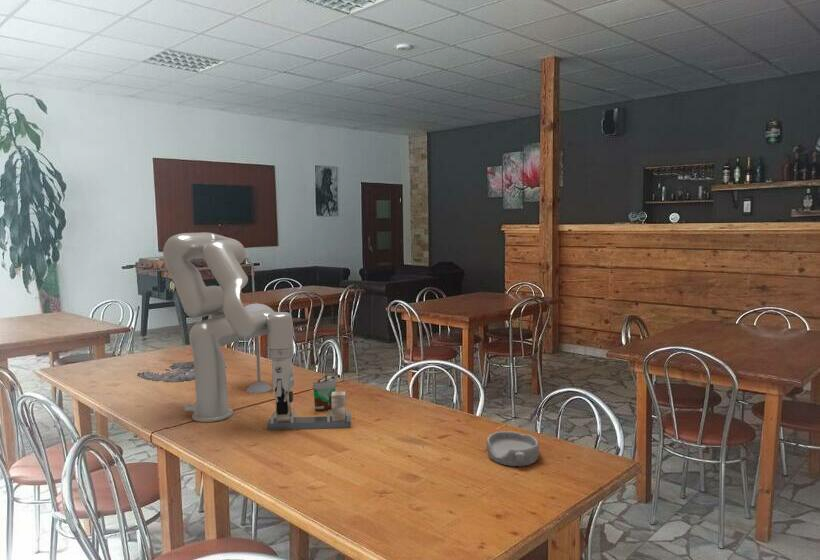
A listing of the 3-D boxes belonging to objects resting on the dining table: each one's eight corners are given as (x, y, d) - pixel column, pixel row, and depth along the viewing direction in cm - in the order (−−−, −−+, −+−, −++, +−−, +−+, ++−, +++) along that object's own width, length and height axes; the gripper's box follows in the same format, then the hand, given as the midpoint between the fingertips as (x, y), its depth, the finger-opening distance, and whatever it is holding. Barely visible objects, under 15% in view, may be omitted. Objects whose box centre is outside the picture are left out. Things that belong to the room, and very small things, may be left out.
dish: (528, 473, 148) (528, 453, 148) (477, 461, 156) (477, 443, 155) (547, 453, 160) (547, 435, 160) (499, 443, 168) (499, 426, 167)
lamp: (243, 383, 232) (240, 299, 229) (287, 383, 232) (284, 298, 228) (229, 396, 215) (224, 305, 212) (276, 396, 215) (272, 305, 211)
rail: (267, 430, 181) (266, 417, 180) (270, 424, 186) (270, 411, 185) (350, 427, 182) (349, 414, 181) (351, 421, 187) (350, 409, 186)
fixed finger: (329, 421, 182) (328, 395, 181) (330, 416, 186) (329, 391, 185) (345, 420, 182) (344, 395, 181) (346, 416, 186) (345, 391, 185)
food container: (331, 413, 195) (330, 383, 194) (313, 412, 196) (312, 382, 195) (342, 401, 207) (342, 373, 206) (326, 401, 208) (325, 373, 207)
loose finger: (292, 418, 181) (291, 393, 180) (276, 419, 181) (275, 393, 180) (294, 414, 185) (293, 389, 184) (278, 415, 185) (277, 390, 184)
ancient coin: (164, 361, 271) (164, 360, 271) (237, 362, 267) (237, 362, 267) (119, 381, 239) (119, 380, 239) (201, 383, 234) (201, 382, 234)
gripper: (289, 359, 173) (291, 420, 174) (297, 346, 189) (300, 403, 191) (262, 359, 172) (266, 421, 174) (273, 347, 189) (276, 403, 191)
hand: (283, 411), depth 183 cm, fingers closed on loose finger, 4 cm apart
